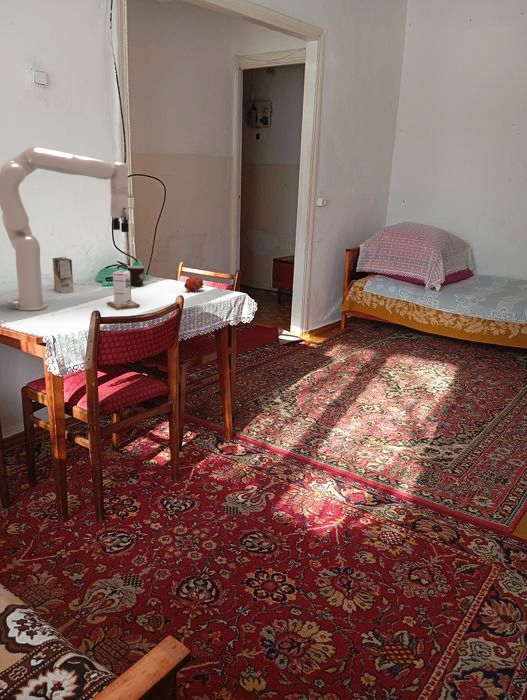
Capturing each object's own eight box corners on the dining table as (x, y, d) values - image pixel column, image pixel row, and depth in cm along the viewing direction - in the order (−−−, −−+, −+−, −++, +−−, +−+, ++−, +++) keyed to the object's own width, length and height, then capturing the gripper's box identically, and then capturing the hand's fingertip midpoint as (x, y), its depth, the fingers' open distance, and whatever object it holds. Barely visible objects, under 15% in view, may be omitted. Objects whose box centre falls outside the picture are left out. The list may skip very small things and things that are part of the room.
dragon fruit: (205, 293, 300) (186, 299, 293) (196, 281, 303) (177, 287, 295) (209, 282, 294) (190, 287, 286) (200, 270, 296) (181, 275, 289)
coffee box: (74, 292, 282) (72, 259, 277) (61, 293, 278) (59, 260, 273) (66, 288, 288) (64, 256, 284) (54, 290, 284) (51, 257, 279)
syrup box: (126, 305, 254) (125, 272, 250) (113, 304, 255) (112, 271, 251) (131, 302, 259) (130, 270, 255) (119, 301, 260) (118, 269, 256)
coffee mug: (139, 283, 309) (139, 265, 306) (147, 286, 302) (147, 267, 299) (120, 285, 302) (119, 266, 299) (127, 288, 295) (127, 269, 292)
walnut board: (116, 309, 250) (116, 307, 250) (107, 304, 259) (106, 302, 258) (139, 307, 256) (139, 304, 256) (129, 302, 265) (129, 299, 264)
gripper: (104, 190, 257) (105, 229, 262) (118, 192, 244) (120, 233, 249) (119, 190, 261) (121, 228, 266) (135, 192, 248) (136, 232, 253)
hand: (120, 230), depth 258 cm, fingers open, 9 cm apart
